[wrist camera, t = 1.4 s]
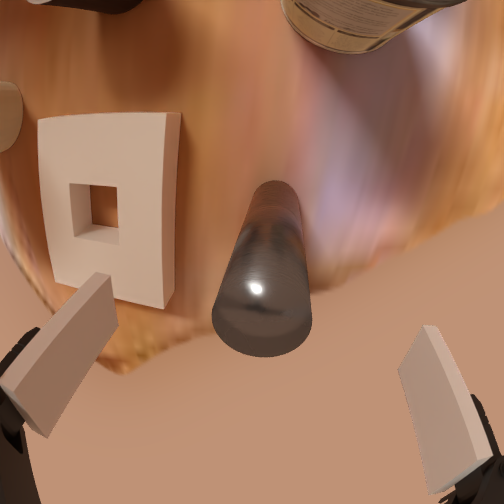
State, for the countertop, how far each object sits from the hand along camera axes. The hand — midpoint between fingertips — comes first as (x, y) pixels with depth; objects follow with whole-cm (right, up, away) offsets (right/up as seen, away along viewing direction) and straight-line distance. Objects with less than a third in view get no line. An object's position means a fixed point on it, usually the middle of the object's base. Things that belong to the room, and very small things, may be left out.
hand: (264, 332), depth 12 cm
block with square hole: (-14, +8, +16) cm, 23 cm away
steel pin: (+2, +7, +14) cm, 16 cm away
